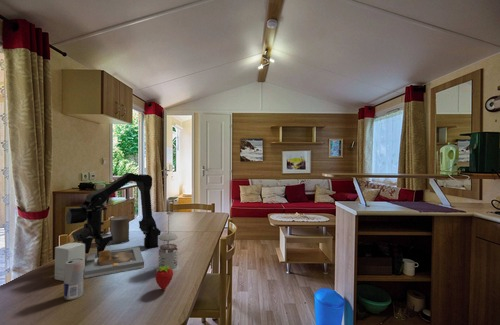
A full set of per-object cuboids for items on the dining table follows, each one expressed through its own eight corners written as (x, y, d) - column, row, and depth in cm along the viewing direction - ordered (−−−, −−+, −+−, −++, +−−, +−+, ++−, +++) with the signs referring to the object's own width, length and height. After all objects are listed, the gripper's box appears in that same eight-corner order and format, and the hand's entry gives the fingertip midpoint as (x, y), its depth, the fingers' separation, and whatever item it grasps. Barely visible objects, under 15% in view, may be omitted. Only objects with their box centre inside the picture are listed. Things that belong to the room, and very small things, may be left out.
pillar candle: (132, 239, 149) (132, 214, 149) (122, 244, 139) (122, 217, 140) (117, 238, 150) (117, 213, 150) (106, 243, 140) (106, 217, 140)
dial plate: (138, 251, 129) (138, 246, 129) (144, 267, 110) (144, 260, 110) (88, 259, 118) (88, 253, 118) (84, 278, 99) (84, 270, 99)
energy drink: (70, 292, 88) (70, 258, 88) (86, 291, 88) (86, 258, 88) (60, 300, 83) (60, 264, 83) (77, 300, 83) (77, 264, 83)
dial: (126, 252, 124) (126, 242, 124) (136, 260, 113) (136, 249, 113) (93, 259, 114) (94, 248, 114) (101, 269, 104) (101, 257, 104)
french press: (157, 275, 102) (158, 214, 102) (154, 264, 113) (155, 209, 113) (181, 270, 107) (182, 212, 107) (176, 261, 117) (177, 207, 117)
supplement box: (85, 274, 102) (86, 243, 102) (67, 282, 95) (67, 249, 95) (72, 271, 104) (73, 241, 104) (53, 279, 97) (54, 246, 97)
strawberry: (175, 285, 94) (176, 258, 94) (168, 295, 87) (169, 266, 87) (160, 284, 95) (160, 258, 95) (151, 295, 87) (152, 266, 87)
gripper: (62, 221, 110) (61, 256, 110) (89, 227, 102) (87, 265, 102) (88, 217, 120) (86, 249, 120) (114, 221, 112) (113, 256, 112)
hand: (92, 255), depth 113 cm, fingers open, 8 cm apart
